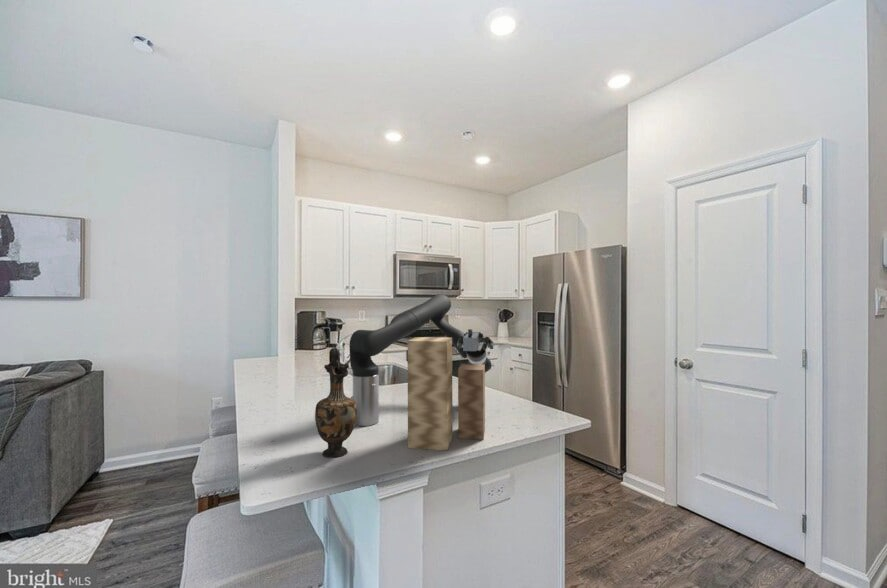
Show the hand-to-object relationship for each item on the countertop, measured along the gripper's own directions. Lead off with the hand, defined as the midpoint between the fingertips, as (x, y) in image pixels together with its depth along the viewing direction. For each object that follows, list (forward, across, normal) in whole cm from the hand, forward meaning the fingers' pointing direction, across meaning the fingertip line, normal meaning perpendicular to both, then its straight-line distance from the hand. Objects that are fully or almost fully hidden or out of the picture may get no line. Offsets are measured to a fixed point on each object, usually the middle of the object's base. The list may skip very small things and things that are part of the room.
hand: (473, 334), depth 133 cm
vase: (+8, -38, +41) cm, 57 cm away
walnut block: (-10, 0, +31) cm, 33 cm away
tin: (+2, 0, +5) cm, 6 cm away
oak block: (-2, -12, +36) cm, 38 cm away
